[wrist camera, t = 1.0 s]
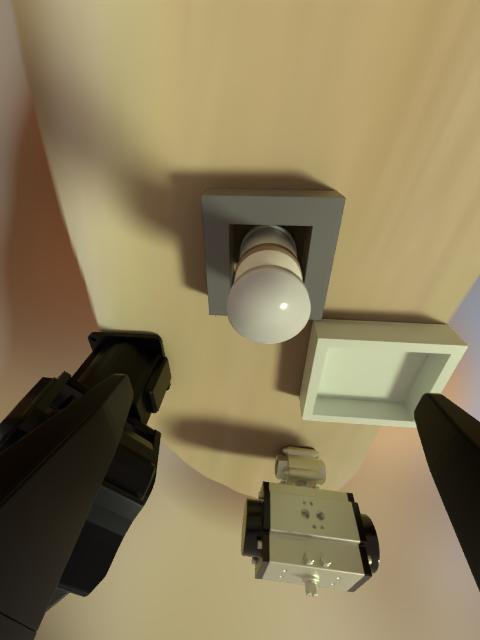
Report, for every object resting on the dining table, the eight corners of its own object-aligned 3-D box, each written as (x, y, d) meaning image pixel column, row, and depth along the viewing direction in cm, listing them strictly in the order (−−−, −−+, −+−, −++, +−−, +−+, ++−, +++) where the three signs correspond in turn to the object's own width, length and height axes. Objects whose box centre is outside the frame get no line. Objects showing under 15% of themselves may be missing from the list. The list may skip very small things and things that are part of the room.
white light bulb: (240, 274, 20) (227, 341, 14) (240, 221, 18) (225, 270, 12) (292, 276, 20) (304, 345, 14) (298, 223, 18) (316, 273, 11)
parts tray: (299, 397, 27) (302, 419, 25) (313, 318, 22) (318, 338, 20) (407, 404, 26) (420, 428, 24) (448, 324, 21) (468, 345, 19)
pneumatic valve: (342, 471, 34) (373, 612, 24) (246, 458, 34) (237, 593, 24) (357, 445, 31) (400, 595, 21) (251, 431, 31) (244, 573, 21)
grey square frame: (214, 297, 22) (209, 314, 20) (208, 188, 17) (200, 195, 15) (316, 302, 21) (321, 320, 19) (335, 190, 17) (345, 197, 15)
